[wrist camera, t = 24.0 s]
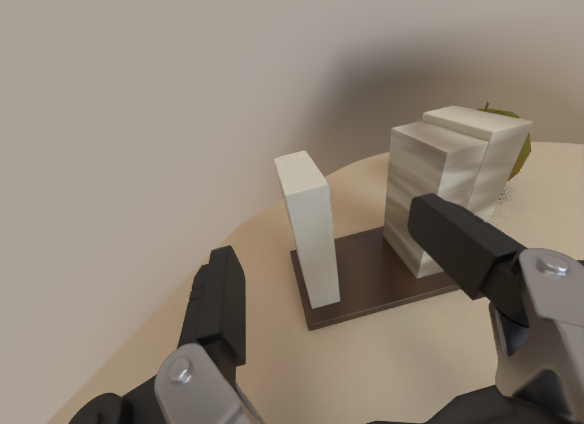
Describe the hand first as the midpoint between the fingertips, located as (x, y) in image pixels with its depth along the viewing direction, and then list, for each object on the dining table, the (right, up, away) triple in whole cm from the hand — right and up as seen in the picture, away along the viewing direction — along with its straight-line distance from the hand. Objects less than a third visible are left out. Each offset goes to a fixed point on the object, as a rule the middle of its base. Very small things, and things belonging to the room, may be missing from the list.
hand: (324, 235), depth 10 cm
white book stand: (+7, -5, +13) cm, 16 cm away
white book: (+1, -6, +12) cm, 13 cm away
